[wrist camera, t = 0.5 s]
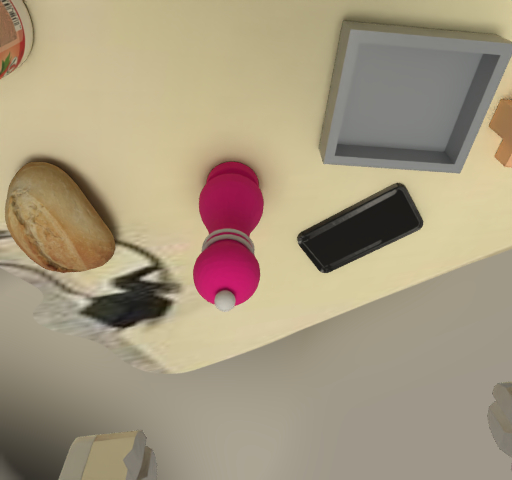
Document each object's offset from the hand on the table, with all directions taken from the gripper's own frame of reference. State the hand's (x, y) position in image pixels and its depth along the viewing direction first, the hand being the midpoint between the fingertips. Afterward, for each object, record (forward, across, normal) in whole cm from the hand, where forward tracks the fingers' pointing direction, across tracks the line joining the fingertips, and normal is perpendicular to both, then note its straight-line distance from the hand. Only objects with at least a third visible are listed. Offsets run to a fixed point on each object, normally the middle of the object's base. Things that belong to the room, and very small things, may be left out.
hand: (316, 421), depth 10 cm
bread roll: (+41, +25, +12) cm, 49 cm away
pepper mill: (+40, +4, +11) cm, 42 cm away
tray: (+38, -15, +3) cm, 41 cm away
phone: (+41, -11, +20) cm, 47 cm away
